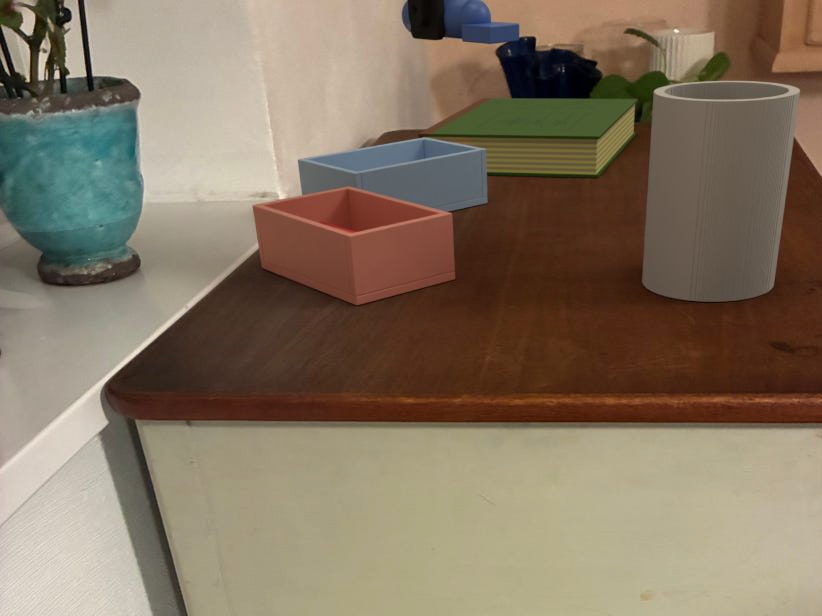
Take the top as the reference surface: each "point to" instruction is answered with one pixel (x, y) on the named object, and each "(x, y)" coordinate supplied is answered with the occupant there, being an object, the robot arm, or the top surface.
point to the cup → (717, 188)
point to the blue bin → (404, 172)
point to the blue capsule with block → (471, 23)
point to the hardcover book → (542, 134)
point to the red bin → (356, 243)
